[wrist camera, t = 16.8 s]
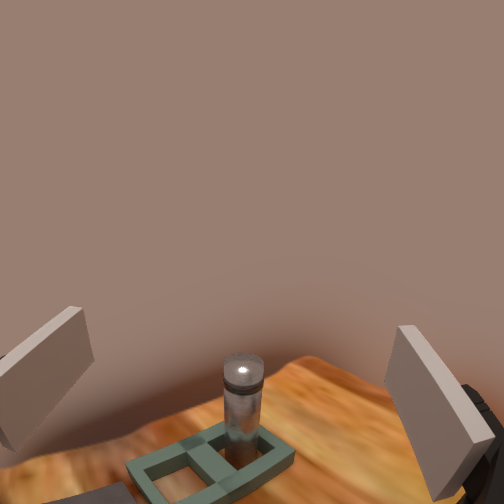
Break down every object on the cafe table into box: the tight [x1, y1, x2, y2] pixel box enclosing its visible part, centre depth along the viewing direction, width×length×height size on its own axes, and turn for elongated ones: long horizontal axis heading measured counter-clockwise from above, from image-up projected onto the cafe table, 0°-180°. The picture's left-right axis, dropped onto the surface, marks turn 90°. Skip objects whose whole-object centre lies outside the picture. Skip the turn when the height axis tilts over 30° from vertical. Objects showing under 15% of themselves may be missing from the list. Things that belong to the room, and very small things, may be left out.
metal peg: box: [223, 353, 264, 471], centre depth 33 cm, size 4×4×16 cm
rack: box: [125, 421, 296, 504], centre depth 31 cm, size 10×18×3 cm, turn 131°
